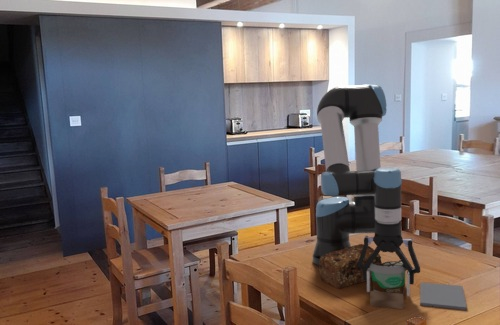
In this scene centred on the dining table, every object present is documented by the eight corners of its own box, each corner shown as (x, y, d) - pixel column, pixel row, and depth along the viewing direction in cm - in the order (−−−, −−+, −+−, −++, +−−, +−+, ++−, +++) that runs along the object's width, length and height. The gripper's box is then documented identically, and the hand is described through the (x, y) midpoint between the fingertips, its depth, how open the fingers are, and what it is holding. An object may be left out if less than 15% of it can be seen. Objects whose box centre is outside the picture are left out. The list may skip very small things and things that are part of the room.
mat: (420, 305, 131) (420, 302, 131) (420, 284, 145) (420, 282, 145) (466, 310, 127) (466, 307, 127) (462, 288, 141) (462, 285, 141)
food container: (381, 303, 134) (380, 270, 133) (369, 294, 140) (369, 263, 138) (417, 295, 138) (416, 263, 136) (404, 287, 143) (403, 256, 142)
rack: (370, 305, 133) (370, 285, 132) (375, 283, 148) (375, 265, 147) (403, 309, 130) (403, 288, 129) (405, 286, 145) (405, 267, 144)
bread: (361, 267, 162) (361, 240, 161) (383, 277, 153) (383, 248, 151) (318, 279, 154) (317, 250, 152) (337, 290, 144) (337, 259, 143)
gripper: (346, 222, 136) (347, 293, 139) (430, 226, 128) (429, 301, 131) (349, 215, 143) (350, 283, 146) (430, 219, 135) (429, 291, 138)
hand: (388, 292), depth 139 cm, fingers closed on food container, 11 cm apart
